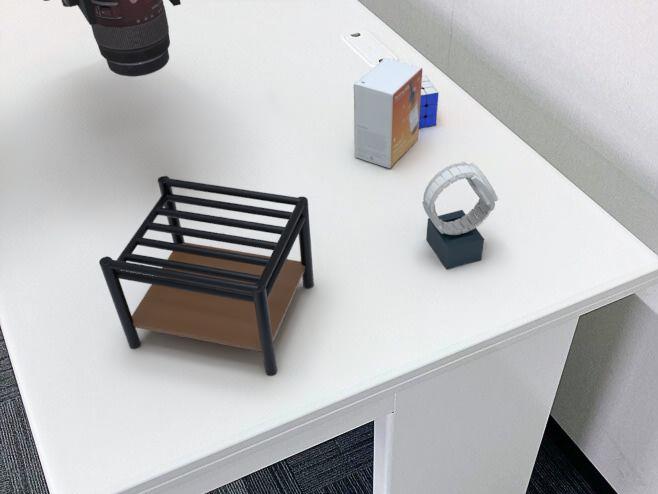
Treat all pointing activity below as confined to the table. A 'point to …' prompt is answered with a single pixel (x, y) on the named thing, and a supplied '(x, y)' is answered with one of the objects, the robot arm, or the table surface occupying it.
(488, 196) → the watch
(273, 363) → the slatted rack
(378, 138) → the small box
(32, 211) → the table surface
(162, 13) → the camera lens
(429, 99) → the rubik's cube
